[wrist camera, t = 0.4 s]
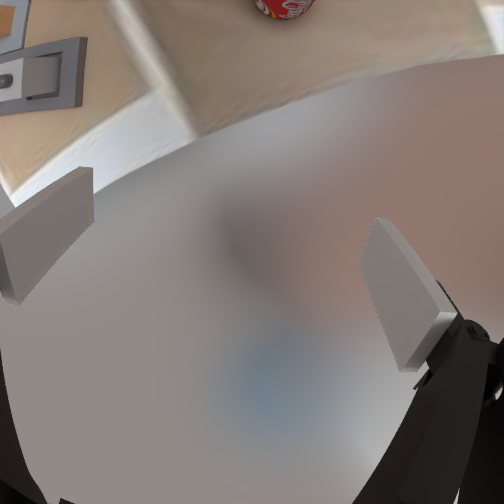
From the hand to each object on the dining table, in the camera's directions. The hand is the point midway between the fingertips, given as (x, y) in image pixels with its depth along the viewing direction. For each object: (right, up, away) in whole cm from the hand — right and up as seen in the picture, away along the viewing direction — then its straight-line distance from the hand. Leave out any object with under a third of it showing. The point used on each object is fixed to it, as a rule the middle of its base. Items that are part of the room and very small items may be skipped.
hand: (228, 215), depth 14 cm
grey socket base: (-33, +24, +18) cm, 45 cm away
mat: (-38, +34, +12) cm, 53 cm away
